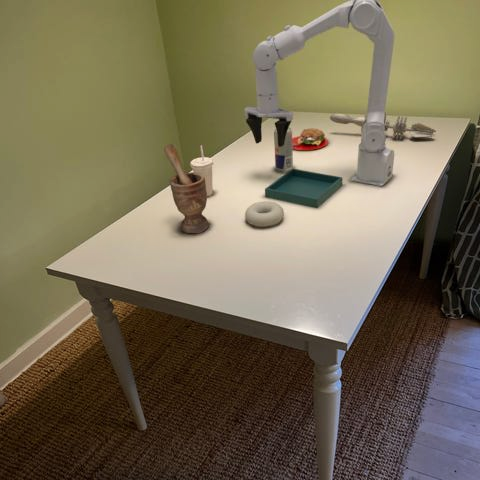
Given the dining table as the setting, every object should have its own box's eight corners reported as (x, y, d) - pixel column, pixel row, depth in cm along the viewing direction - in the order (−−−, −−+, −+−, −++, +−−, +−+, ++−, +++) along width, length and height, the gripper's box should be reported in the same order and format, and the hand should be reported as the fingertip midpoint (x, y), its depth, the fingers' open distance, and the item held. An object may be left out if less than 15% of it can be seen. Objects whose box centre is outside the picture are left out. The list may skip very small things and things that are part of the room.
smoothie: (214, 198, 136) (207, 150, 128) (192, 198, 138) (184, 150, 129) (219, 189, 141) (213, 141, 132) (198, 189, 143) (191, 141, 134)
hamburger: (294, 135, 171) (294, 117, 167) (333, 137, 165) (333, 119, 162) (280, 149, 161) (279, 131, 157) (320, 152, 156) (321, 134, 152)
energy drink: (274, 167, 150) (272, 128, 143) (291, 165, 150) (290, 125, 143) (276, 173, 146) (275, 133, 138) (294, 171, 146) (293, 131, 138)
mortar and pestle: (163, 228, 126) (146, 153, 113) (183, 214, 131) (170, 140, 118) (198, 237, 120) (185, 159, 107) (217, 222, 125) (207, 146, 113)
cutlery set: (334, 105, 167) (330, 103, 160) (439, 121, 156) (438, 119, 149) (329, 130, 170) (324, 128, 163) (431, 146, 159) (431, 145, 152)
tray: (342, 185, 136) (342, 177, 134) (316, 208, 127) (317, 199, 125) (292, 176, 144) (292, 168, 142) (265, 196, 135) (264, 188, 133)
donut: (238, 218, 126) (257, 233, 119) (237, 206, 124) (256, 220, 117) (271, 207, 129) (291, 221, 122) (270, 195, 127) (291, 208, 120)
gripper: (236, 95, 130) (241, 145, 138) (282, 99, 123) (284, 152, 131) (251, 88, 134) (254, 137, 142) (296, 92, 127) (297, 143, 135)
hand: (269, 144), depth 137 cm, fingers open, 7 cm apart
